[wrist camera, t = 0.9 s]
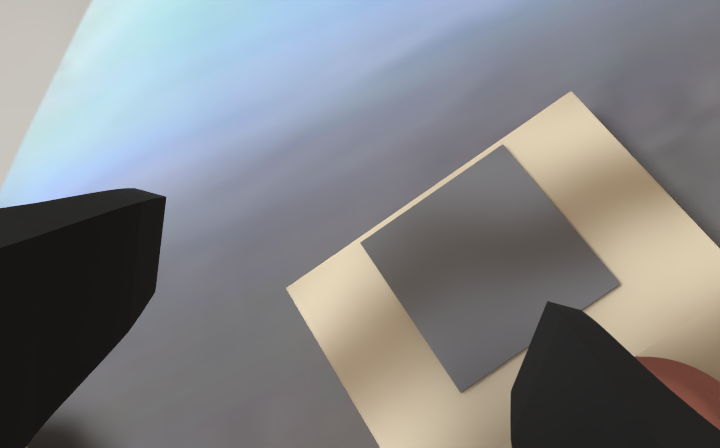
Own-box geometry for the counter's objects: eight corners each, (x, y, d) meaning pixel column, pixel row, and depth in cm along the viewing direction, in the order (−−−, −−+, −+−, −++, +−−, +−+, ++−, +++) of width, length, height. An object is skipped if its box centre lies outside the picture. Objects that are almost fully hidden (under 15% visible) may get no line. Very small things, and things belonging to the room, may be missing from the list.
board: (867, 451, 20) (920, 455, 17) (531, 674, 20) (534, 712, 18) (566, 121, 26) (571, 86, 23) (306, 300, 26) (283, 286, 23)
